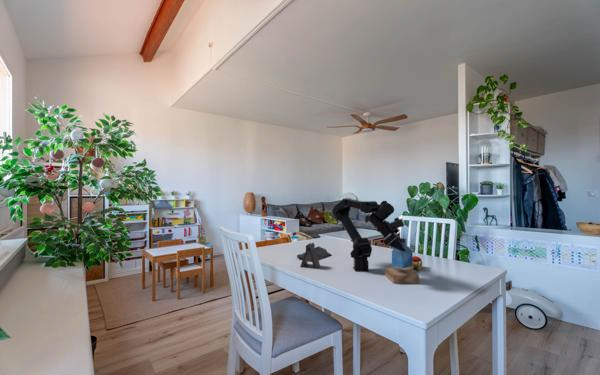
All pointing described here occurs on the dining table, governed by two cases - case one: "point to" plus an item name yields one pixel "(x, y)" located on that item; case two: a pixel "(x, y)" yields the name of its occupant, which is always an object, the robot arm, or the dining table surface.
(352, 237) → the robot arm
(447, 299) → the dining table surface
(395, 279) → the walnut plinth
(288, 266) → the dining table surface
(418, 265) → the kendama
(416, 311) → the dining table surface
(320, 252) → the stegosaurus figurine
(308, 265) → the phone stand
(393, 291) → the dining table surface
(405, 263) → the perfume bottle
